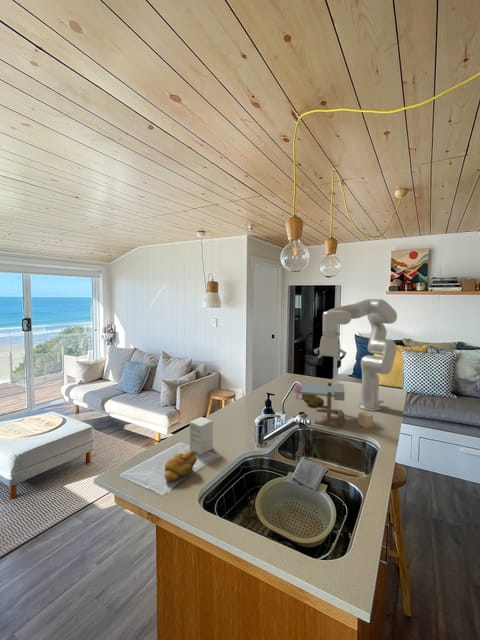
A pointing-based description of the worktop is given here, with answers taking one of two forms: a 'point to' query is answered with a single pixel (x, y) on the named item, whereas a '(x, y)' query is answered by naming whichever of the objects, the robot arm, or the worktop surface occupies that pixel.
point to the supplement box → (201, 435)
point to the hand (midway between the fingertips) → (329, 366)
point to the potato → (312, 400)
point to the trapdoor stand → (329, 411)
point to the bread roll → (180, 465)
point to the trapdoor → (324, 390)
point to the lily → (298, 390)
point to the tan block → (365, 419)
